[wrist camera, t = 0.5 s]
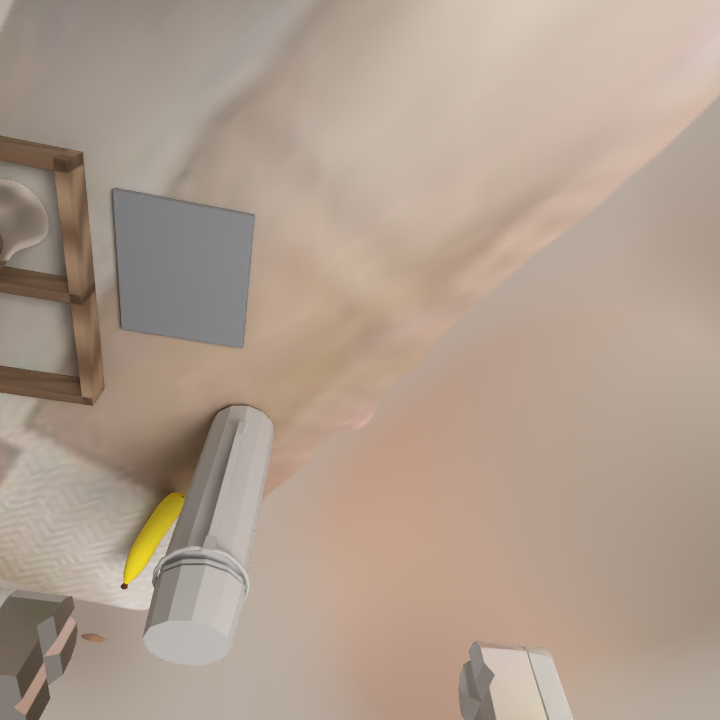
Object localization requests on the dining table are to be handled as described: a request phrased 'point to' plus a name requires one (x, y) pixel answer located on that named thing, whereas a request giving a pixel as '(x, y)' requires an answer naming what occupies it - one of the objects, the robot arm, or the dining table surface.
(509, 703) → the robot arm
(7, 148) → the frame
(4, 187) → the beer glass
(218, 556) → the water bottle
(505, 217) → the dining table surface
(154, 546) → the banana
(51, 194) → the dining table surface
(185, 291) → the charcoal mat
